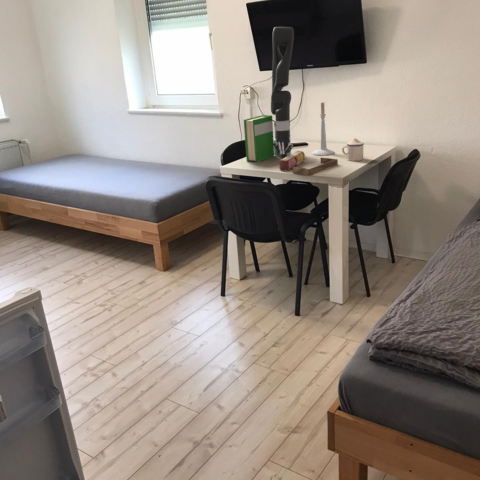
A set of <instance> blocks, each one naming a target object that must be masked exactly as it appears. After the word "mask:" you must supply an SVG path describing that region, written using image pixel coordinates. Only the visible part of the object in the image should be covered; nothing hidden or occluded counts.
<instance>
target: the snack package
mask: <svg viewBox="0 0 480 480" xmlns="http://www.w3.org/2000/svg"><path fill="white" fill-rule="evenodd" d="M305 158H306V155H305V152H304V151H302V150H295V151H294V152H291V154H290V155H288V156H287V157H285V158H283V159H281V158H280V160H279V162H278V165H279V170H280V171H283V170H288V171H289V170H291V169H293V167H296V166H298V165H300V164H302V163H304V162H305Z"/></svg>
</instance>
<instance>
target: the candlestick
mask: <svg viewBox="0 0 480 480" xmlns="http://www.w3.org/2000/svg"><path fill="white" fill-rule="evenodd" d="M319 116H320V119H321V121H320V147H319V149H316V150H313V151H312V155H313V156H317V157H325V156H332V155H335V150H333V149H331V148H327V136H326V135H327V133H326V123H325V122H326V120H325V118H326V113H325V102H324V101H322V102H320V114H319Z"/></svg>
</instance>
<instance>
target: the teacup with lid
mask: <svg viewBox="0 0 480 480" xmlns="http://www.w3.org/2000/svg"><path fill="white" fill-rule="evenodd" d="M364 145H365V143H364V141H360V140H359V139H358V138H357V137H353V140H351V141H349V142H347V143H346V145H344V146H342V149H341V151H342V154H344V155H345V156H347V157H346V159H347V160H348V161H350V162H359V161H363V160H364ZM345 148H347V150H346V151H347V152H345V150H344V149H345Z"/></svg>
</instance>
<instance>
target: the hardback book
mask: <svg viewBox="0 0 480 480" xmlns="http://www.w3.org/2000/svg"><path fill="white" fill-rule="evenodd" d="M243 131H244V132H243V133H244V144H245V146H244V147H245V158H246V162H249V161H255V163H258V161H259V162H261V160H262V161H264V160H267V159H269V158H273V157H275V155H274V145H273V144H274V122H273V114H271V115H269V114H266V115H265V114H263V115H262V114H261V115H257V116H253V117H250V118H246V119H243Z"/></svg>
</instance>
